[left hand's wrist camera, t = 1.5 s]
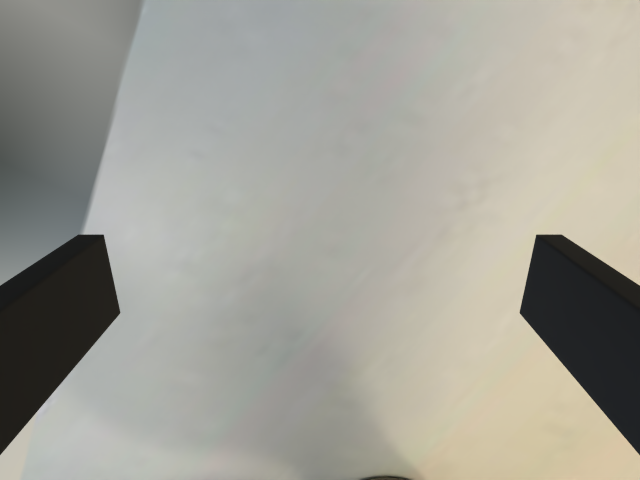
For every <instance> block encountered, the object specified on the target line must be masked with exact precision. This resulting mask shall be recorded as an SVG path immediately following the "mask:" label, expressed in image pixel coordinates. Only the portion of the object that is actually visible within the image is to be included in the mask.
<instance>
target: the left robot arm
mask: <svg viewBox="0 0 640 480" xmlns="http://www.w3.org/2000/svg"><path fill="white" fill-rule="evenodd" d="M119 314H120V309H119V304H118V300H117V295H116V290H115V286H114V281H113V276H112V272H111V267H110V262H109V258H108V253H107V248H106V244H105V239H104V235H77V236H76V237H74V238H73V239H71V240H70V241H68V242H66V243H65V244H63V245H62V246H60V247H59V248H57V249H56V250H54V251H53V252H51V253H50V254H48V255H47V256H45V257H43V258H42V259H41V260H39V261H37V262H36V263H34V264H33V265H31V266H30V267H28V268H27V269H25V270H24V271H22V272H21V273H19V274H17V275H16V276H14V277H13V278H11V279H10V280H8V281H7V282H5V283H4V284H2V285H1V286H0V455H1V453H2V452H3V451H4V450H5V449H6V448H7V446H8V445H9V444H10V443H11V442H12V440H13V439H14V438H15V437H16V436H17V435H18V433H19V432H20V431H21V430H22V429H23V427H24V426H25V425H26V424H27V423H28V422H29V420H30V419H31V418H32V417H33V416H34V414H35V413H36V412H37V411H38V410H39V409H40V407H41V406H42V405H43V404H44V403H45V401H46V400H47V399H48V398H49V397H50V396H51V394H52V393H53V392H54V391H55V390H56V388H57V387H58V386H59V385H60V384H61V383H62V381H63V380H64V379H65V378H66V377H67V375H68V374H69V373H70V372H71V371H72V370H73V368H74V367H75V366H76V365H77V364H78V362H79V361H80V360H81V359H82V358H83V357H84V355H85V354H86V353H87V352H88V351H89V349H90V348H91V347H92V346H93V345H94V343H95V342H96V341H97V340H98V339H99V338H100V336H101V335H102V334H103V333H104V332H105V330H106V329H107V328H108V327H109V326H110V325H111V323H112V322H113V321H114V320H115V319H116V317H117V316H118V315H119ZM520 314H521V315H522V316H523V317H524V319H525V320H526V321H527V322H528V323H529V325H530V326H531V327H532V328H533V329H534V330H535V332H536V333H537V334H538V335H539V336H540V338H541V339H542V340H543V341H544V342H545V343H546V345H547V346H548V347H549V348H550V349H551V351H552V352H553V353H554V354H555V355H556V357H557V358H558V359H559V360H560V361H561V362H562V364H563V365H564V366H565V367H566V368H567V370H568V371H569V372H570V373H571V374H572V375H573V377H574V378H575V379H576V380H577V381H578V383H579V384H580V385H581V386H582V387H583V388H584V390H585V391H586V392H587V393H588V394H589V396H590V397H591V398H592V399H593V400H594V401H595V403H596V404H597V405H598V406H599V407H600V409H601V410H602V411H603V412H604V413H605V414H606V416H607V417H608V418H609V419H610V420H611V422H612V423H613V424H614V425H615V426H616V427H617V429H618V430H619V431H620V432H621V433H622V435H623V436H624V437H625V438H626V439H627V440H628V442H629V443H630V444H631V445H632V446H633V448H634V449H635V450H636V451H637V452H638V453H639V455H640V286H639V285H638V284H636V283H635V282H633V281H632V280H630V279H629V278H627V277H626V276H624V275H623V274H621V273H619V272H618V271H616V270H615V269H613V268H612V267H610V266H609V265H607V264H606V263H604V262H603V261H601V260H600V259H598V258H597V257H595V256H593V255H592V254H590V253H589V252H587V251H586V250H584V249H583V248H581V247H580V246H578V245H577V244H575V243H574V242H572V241H570V240H569V239H567V238H566V237H564V236H563V235H536V239H535V244H534V248H533V253H532V258H531V262H530V267H529V272H528V276H527V281H526V286H525V290H524V295H523V300H522V304H521V309H520ZM368 480H405V479H400V478H389V477H384V478H373V479H368Z"/></svg>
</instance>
